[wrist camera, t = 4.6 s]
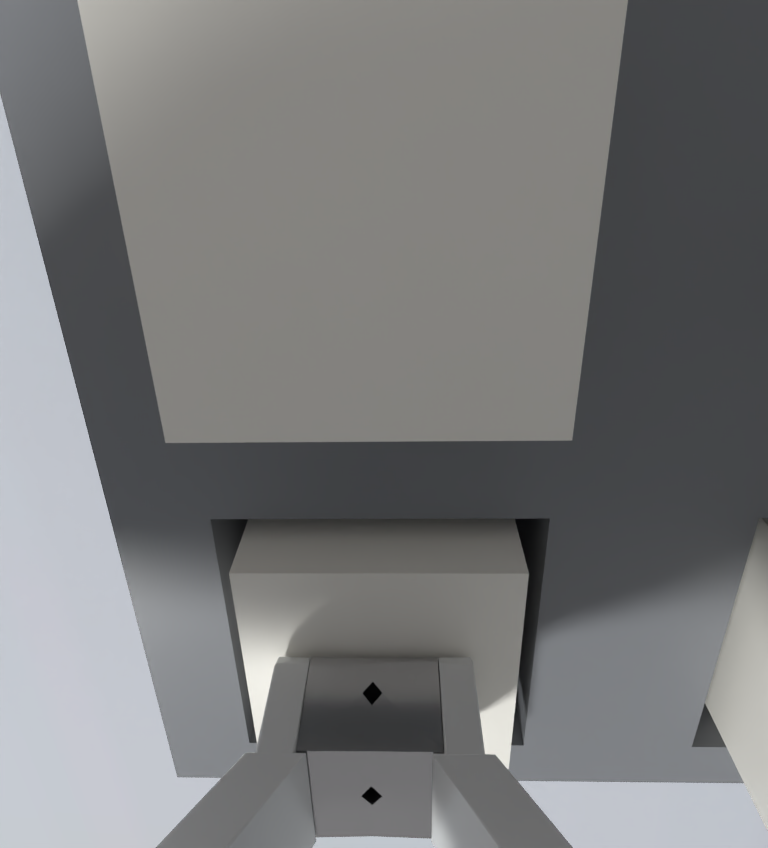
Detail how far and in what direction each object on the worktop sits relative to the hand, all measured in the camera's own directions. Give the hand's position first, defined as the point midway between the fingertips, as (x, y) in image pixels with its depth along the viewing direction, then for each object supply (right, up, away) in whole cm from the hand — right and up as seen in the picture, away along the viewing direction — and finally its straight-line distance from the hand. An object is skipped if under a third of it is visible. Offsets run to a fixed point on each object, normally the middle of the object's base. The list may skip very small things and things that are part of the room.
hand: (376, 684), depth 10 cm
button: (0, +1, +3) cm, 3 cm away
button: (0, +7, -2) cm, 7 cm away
